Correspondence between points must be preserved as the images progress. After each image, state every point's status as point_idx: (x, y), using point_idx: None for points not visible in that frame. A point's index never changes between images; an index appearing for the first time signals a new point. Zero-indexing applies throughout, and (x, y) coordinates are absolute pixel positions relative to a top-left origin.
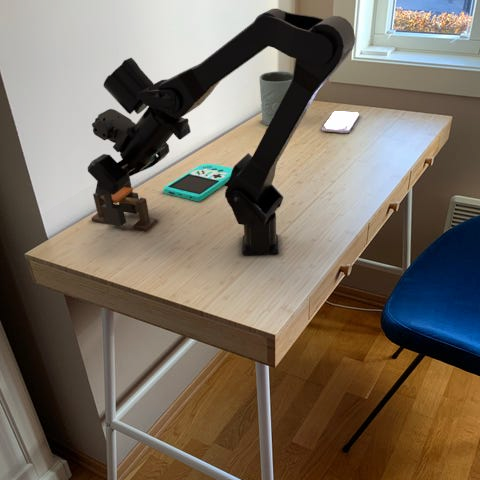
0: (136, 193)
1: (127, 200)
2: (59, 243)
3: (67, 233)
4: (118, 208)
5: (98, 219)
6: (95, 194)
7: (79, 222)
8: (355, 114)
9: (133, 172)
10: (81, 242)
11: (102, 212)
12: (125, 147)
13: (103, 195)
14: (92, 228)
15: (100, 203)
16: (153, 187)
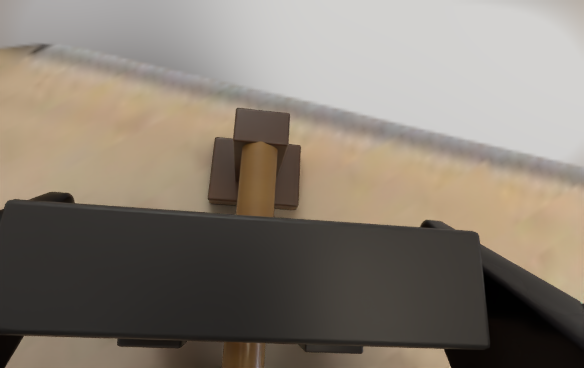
0: (354, 349)
1: (223, 366)
2: (6, 110)
3: (96, 99)
4: (128, 346)
5: (211, 173)
6: (237, 122)
7: (195, 99)
8: None
9: (455, 354)
10: (24, 195)
11: (238, 176)
12: None
13: None
14: (157, 176)
15: (238, 161)
16: (566, 244)
